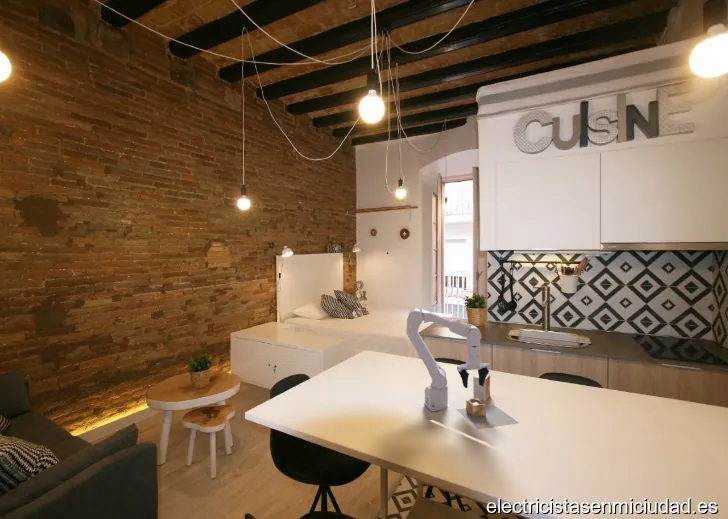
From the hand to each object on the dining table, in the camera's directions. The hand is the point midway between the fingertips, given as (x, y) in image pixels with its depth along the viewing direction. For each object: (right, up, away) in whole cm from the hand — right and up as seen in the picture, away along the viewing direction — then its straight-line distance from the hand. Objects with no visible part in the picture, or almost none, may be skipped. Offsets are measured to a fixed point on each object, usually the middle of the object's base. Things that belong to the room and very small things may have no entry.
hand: (473, 386), depth 141 cm
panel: (+3, -10, -7) cm, 13 cm away
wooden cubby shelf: (-1, -9, -5) cm, 10 cm away
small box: (+8, -10, +11) cm, 17 cm away
